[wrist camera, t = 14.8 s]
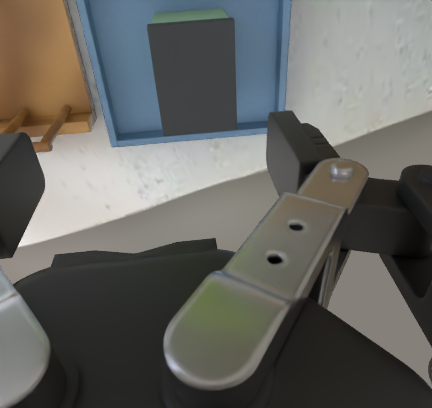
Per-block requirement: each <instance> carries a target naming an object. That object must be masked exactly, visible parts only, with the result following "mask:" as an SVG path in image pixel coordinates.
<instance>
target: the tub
mask: <svg viewBox="0 0 432 408" xmlns="http://www.w3.org/2000/svg"><path fill="white" fill-rule="evenodd" d="M147 32H148V39H149V45H150V52H151V58H152V65H153V72H154V78H155V85H156V91H157V98H158V104H159V111H160V117H161V124H162V131H163V136H164V137H166V136H177V135H188V134H199V133H209V132H220V131H231V130H237V104H236V62H235V20H234V18H233V17H230V18H229V17H228V16H227V14H226V13H225V11H224V10H223V8H212V9H199V10H186V11H173V12H160V13H154V14H153V18H152V22H151V24H147Z"/></svg>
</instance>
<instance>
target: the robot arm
mask: <svg viewBox="0 0 432 408" xmlns="http://www.w3.org/2000/svg"><path fill="white" fill-rule="evenodd" d="M266 161H267V168H268V171H269V174H270V176H271V178H272V181H273V183H274V185H275V188H276V190H277V193H278V195H279V199H278V200H277V201H276V202H275V204H274V205H273V206H272V208H271V209H270V210H269V211H268V212H267V214H266V215H265V216H264V218H263V219H262V220H261V221H260V223H259V224H258V225H257V226H256V228H255V229H254V230H253V232H252V233H251V234H250V235H249V237H248V238H247V239H246V241H245V242H244V243H243V244H242V246H241V247H240V248H239V249H238V251H237V252H233V251H227V250H220V249H217V244H216V239H215V238H212V239H202V240H194V241H183V242H176V243H172V244H169V245H165V246H162V247H158V248H154V249H151V250H147V251H144V252H140V253H135V254H132V253H119V252H107V251H86V252H76V253H66V254H57V255H55V257H54V259H53V262H52V265H51V267H49V268H46V269H43V270H40V271H38V272H35V273H33V274H31V275H29V276H27V277H25V278H23V279H21V280H19V281H18V282H16V283H15V284H13V285H12V283H11V282H10V280H9V279H8V277H7V276H6V274H5V273H4V271H3V270H2V268H1V266H0V408H432V389H431V388H430V386H429V385H428V384H427V383H426V382H425V381H424V380H423V379H422V378H421V377H420V376H419V375H418V374H417V373H416V372H415V371H413V370H412V369H411V368H409V367H408V366H407V365H406V364H404V363H403V362H402V361H400V360H399V359H397V358H396V357H394V356H393V355H392V354H390V353H389V352H387V351H386V350H384V349H383V348H382V347H380V346H379V345H377V344H376V343H374V342H373V341H371V340H370V339H368V338H367V337H366V336H364V335H363V334H361V333H360V332H358V331H357V330H356V329H354V328H353V327H351V326H350V325H348V324H347V323H346V322H344V321H343V320H341V319H340V318H338V317H337V316H336V315H334V314H332V313H331V312H330V311H328V310H327V308H328V305H329V301H330V298H331V296H332V293H333V291H334V288H335V286H336V284H337V282H338V280H339V277H340V275H341V273H342V271H343V268H344V266H345V264H346V262H347V259H348V257H349V255H350V252H351V250H355V251H364V252H371V253H379V255H380V257H381V259H382V261H383V262H384V264H385V266H386V267H387V270H388V271H389V273H390V275H391V277H392V278H393V280H394V282H395V284H396V285H397V287H398V289H399V290H400V292H401V294H402V296H403V298H404V299H405V301H406V303H407V305H408V306H409V308H410V310H411V312H412V313H413V315H414V317H415V319H416V320H417V322H418V324H419V326H420V327H421V329H422V331H423V333H424V334H425V336H426V338H427V340H428V341H429V343H430V345H431V347H432V166H430V165H412V166H409V167H406V168H405V169H403V171H402V173H401V176H400V179H399V181H395V180H384V179H375V178H369V177H368V176H369V173H368V170H367V169H366V168H365V167H364V166H363V165H362V164H360V163H358V162H355V161H352V160H349V159H343V158H340V156H339V155H338V154H337V153H336V151H335V150H334V149H333V147H332V146H331V145H330V144H329V142H328V141H327V140H326V138H324V136H323V134H322V133H321V132H320V131H319V129H317V128H315V127H314V126H312V125H310V124H308V123H303V124H301V123H300V122H299V120H298V119H297V117H296V116H295V114H294V113H293V112H292V111H291V110H289V111H277V112H270V113H269V115H268V124H267V148H266ZM44 189H45V179H44V174H43V172H42V169H41V166H40V163H39V161H38V158H37V155H36V153H35V150H34V147H33V145H32V142H31V140H30V137H29V136H28V135H27V133H25V132H20V133H8V134H0V259H4V258H12V257H13V255H14V253H15V251H16V249H17V247H18V245H19V243H20V240H21V238H22V236H23V234H24V232H25V230H26V228H27V226H28V224H29V222H30V220H31V218H32V215H33V213H34V211H35V209H36V207H37V205H38V203H39V201H40V199H41V197H42V195H43V193H44ZM428 373H429V377H430V380H431V383H432V358H431V360H430V362H429V366H428Z"/></svg>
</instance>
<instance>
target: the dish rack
mask: <svg viewBox="0 0 432 408" xmlns="http://www.w3.org/2000/svg"><path fill="white" fill-rule="evenodd" d="M96 118H97V117H96V114H95V110H94V106H93V102H92V98H91V94H90V90H89V86H88V83H87V79H86V75H85V71H84V67H83V63H82V59H81V55H80V52H79V48H78V44H77V40H76V36H75V32H74V28H73V24H72V20H71V17H70V13H69V9H68V5H67V1H66V0H0V134H8V133H20V132H25V133H27V135H28V136H29V137H37V136H44V137H43V138H42V140H41V141H40V142H34V143H32V145H33V147H34V150H35V153H36V152H47V151H52V142H53V141H54V139H55V137H56V136H57V135H60V134H71V133H83V132H91V130H92V127H93V125H94V122H95V121H96Z"/></svg>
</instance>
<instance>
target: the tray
mask: <svg viewBox="0 0 432 408" xmlns="http://www.w3.org/2000/svg"><path fill="white" fill-rule="evenodd" d="M76 3H77V7H78V11H79V15H80V19H81V24H82V28H83V32H84V36H85V40H86V44H87V48H88V52H89V56H90V60H91V64H92V69H93V73H94V77H95V81H96V85H97V89H98V93H99V97H100V101H101V105H102V109H103V114H104V118H105V122H106V126H107V130H108V134H109V138H110V142H111V146H112V147H123V146H134V145H145V144H156V143H167V142H178V141H189V140H200V139H211V138H223V137H234V136H245V135H256V134H267V124H268V115H269V113H270V112H277V111H285V97H286V80H287V63H288V46H289V29H290V12H291V0H76ZM212 8H223V10H224V11H225V13H226V14H227V16H228V17H229V18H230V17H233V18H234V20H235V62H236V104H237V130H231V131H220V132H209V133H199V134H188V135H177V136H166V137H164V136H163V131H162V124H161V117H160V111H159V104H158V98H157V91H156V85H155V78H154V72H153V65H152V58H151V52H150V45H149V39H148V32H147V24H151V22H152V18H153V14H154V13H160V12H173V11H186V10H199V9H212Z"/></svg>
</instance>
